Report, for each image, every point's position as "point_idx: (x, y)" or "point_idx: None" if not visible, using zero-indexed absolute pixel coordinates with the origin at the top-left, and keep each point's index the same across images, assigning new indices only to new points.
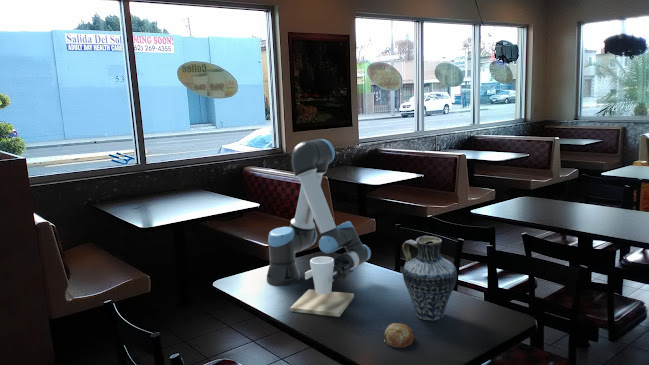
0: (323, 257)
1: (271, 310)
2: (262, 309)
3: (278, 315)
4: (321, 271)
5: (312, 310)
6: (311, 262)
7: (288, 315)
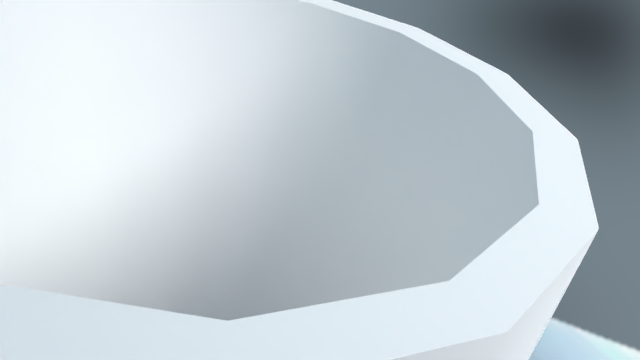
0: (320, 325)
1: (544, 349)
2: (609, 348)
3: None
4: (150, 131)
5: None
6: (384, 21)
7: None
